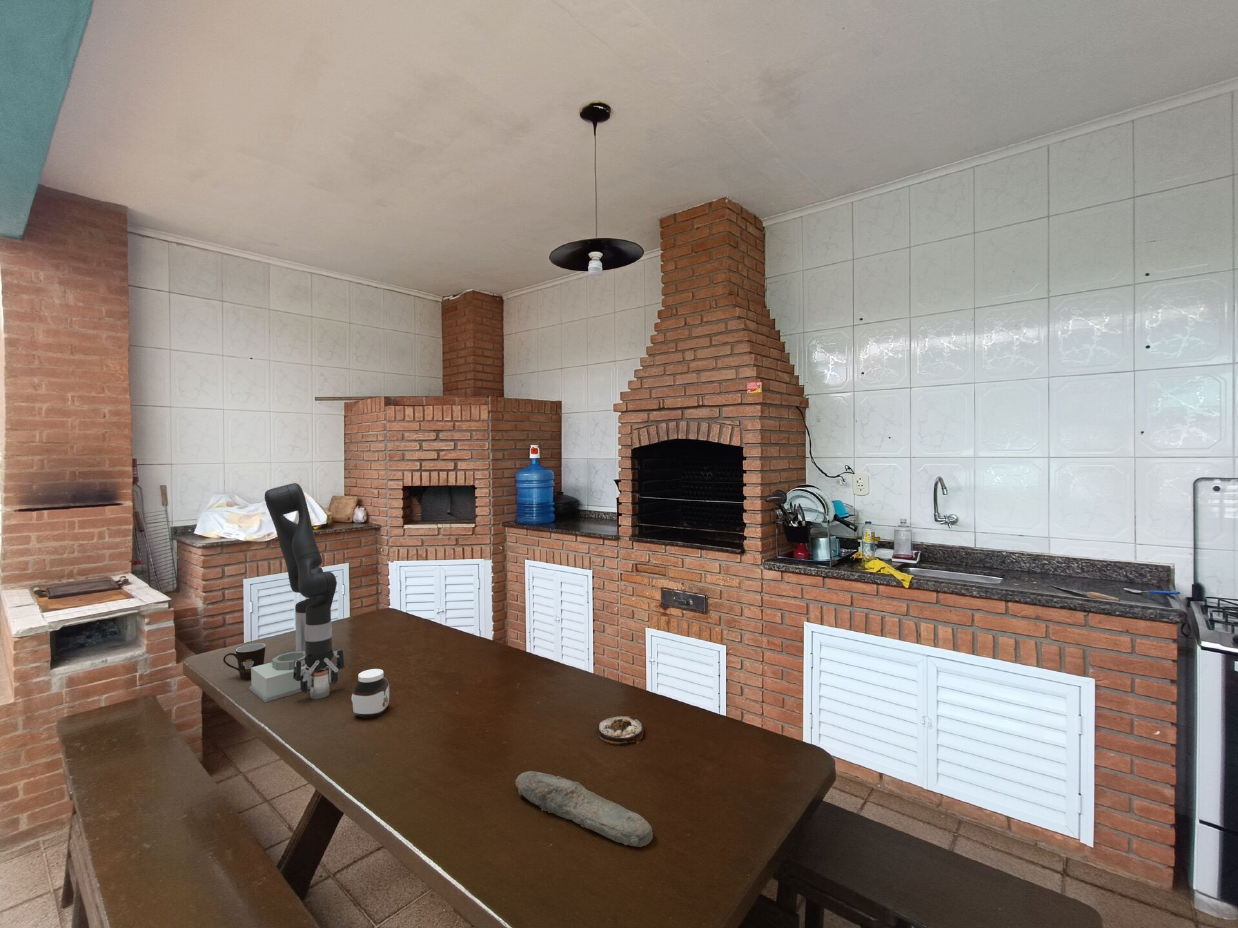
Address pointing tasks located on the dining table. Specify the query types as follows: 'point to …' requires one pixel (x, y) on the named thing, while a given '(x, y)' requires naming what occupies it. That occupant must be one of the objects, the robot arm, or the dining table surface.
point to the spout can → (319, 683)
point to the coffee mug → (248, 659)
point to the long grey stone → (584, 808)
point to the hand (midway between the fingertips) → (319, 687)
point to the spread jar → (370, 694)
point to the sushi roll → (620, 730)
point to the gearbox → (278, 677)
